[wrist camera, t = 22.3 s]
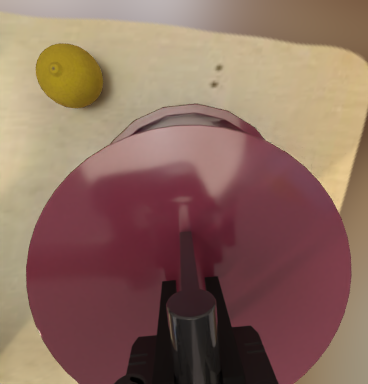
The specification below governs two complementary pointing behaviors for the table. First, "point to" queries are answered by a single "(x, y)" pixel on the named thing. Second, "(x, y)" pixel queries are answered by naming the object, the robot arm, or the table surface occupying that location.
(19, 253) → the table surface
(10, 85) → the table surface
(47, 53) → the lemon
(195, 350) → the lid
